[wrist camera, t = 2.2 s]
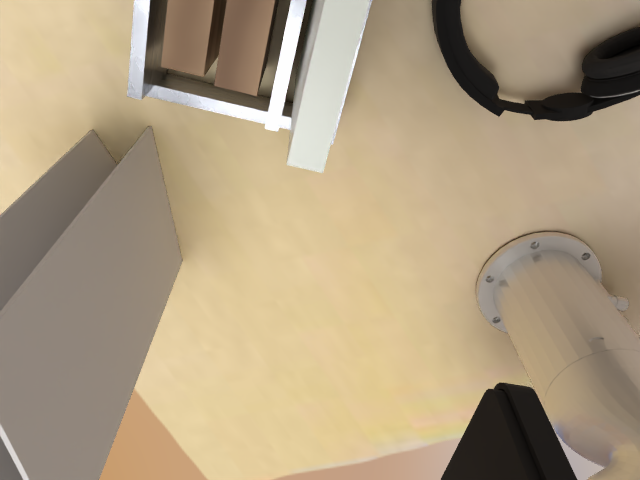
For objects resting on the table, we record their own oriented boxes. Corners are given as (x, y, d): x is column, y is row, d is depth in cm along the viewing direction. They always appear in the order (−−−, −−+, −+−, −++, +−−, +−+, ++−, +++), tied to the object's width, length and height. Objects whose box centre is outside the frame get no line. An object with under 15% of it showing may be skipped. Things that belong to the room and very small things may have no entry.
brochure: (89, 129, 49) (-164, 367, 23) (151, 125, 49) (-34, 359, 23) (128, 264, 56) (-31, 562, 30) (182, 260, 56) (69, 556, 30)
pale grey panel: (357, -78, 41) (390, -78, 24) (319, 79, 47) (322, 172, 29) (331, -86, 41) (346, -91, 23) (296, 74, 47) (286, 164, 29)
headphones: (710, 124, 41) (435, 138, 43) (664, 96, 48) (428, 109, 50) (790, -171, 32) (440, -132, 35) (719, -155, 39) (431, -123, 41)
